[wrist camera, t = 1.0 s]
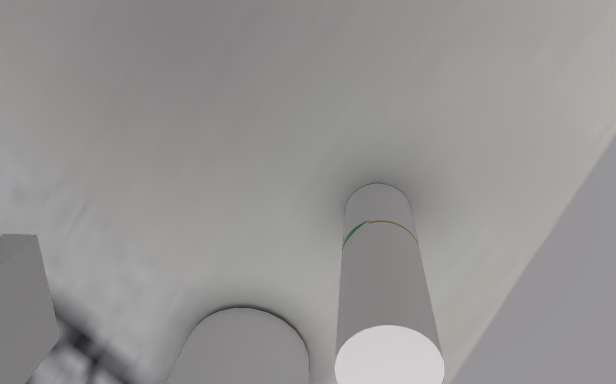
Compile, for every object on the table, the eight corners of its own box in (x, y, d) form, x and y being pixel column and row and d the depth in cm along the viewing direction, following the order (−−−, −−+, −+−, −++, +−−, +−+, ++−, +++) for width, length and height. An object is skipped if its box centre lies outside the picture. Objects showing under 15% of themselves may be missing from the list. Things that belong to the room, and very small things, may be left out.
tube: (401, 176, 34) (430, 315, 20) (417, 235, 35) (454, 403, 22) (336, 192, 35) (321, 337, 21) (354, 250, 36) (351, 420, 22)
